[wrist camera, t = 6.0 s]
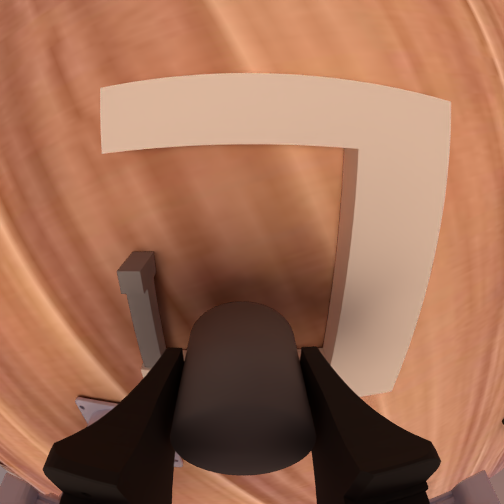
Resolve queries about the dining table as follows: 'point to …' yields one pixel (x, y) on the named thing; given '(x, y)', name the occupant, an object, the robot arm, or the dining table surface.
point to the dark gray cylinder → (242, 394)
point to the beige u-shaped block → (352, 199)
